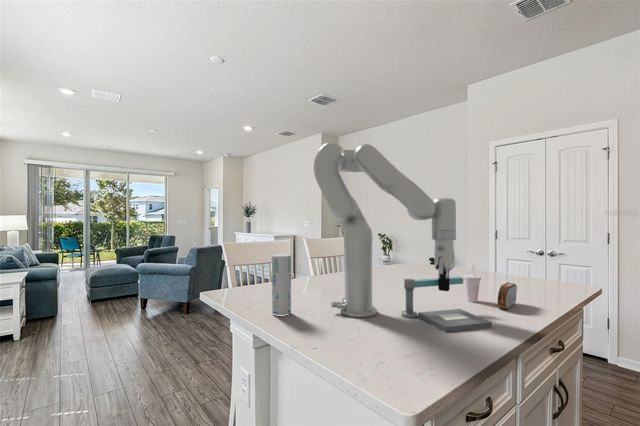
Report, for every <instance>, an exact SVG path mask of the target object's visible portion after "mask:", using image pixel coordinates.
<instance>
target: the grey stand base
mask: <svg viewBox="0 0 640 426" xmlns="http://www.w3.org/2000/svg"><path fill="white" fill-rule="evenodd" d="M401 317H403V318H406V319H407V318H408V319H417V318H419V319H421V320H423V321H425V322H426V323H428V324H429V325H432V326H433V327H435V328H437V329H438V330H441V331H442V332H444V333H449V332H450V333H453V332H462V331H469V330H471V331H472V330H477V329H488V328H493V322H492V321H490V320H488V319H485V318H483V317H481V316H478V315H475V314H473V313H471V312H469V311H466V310H464V309H461V308H454V309H452V308H451V309H443V310H441V309H440V310H432V311H419V312H417V311H414V290H407V289H405V310H402V311H401Z"/></svg>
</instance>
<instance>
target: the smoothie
mask: <svg viewBox="0 0 640 426" xmlns="http://www.w3.org/2000/svg"><path fill="white" fill-rule="evenodd" d="M471 267H472V271H471V272H472V273H471V274H463V275H462V278H463V284H464V290H465V297H466V301H467V302H468V303H478V300H479V292H480V290H479V289H480V282H481V280H482V277H481V276H479V275H475V265H474V264H472V266H471Z"/></svg>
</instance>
